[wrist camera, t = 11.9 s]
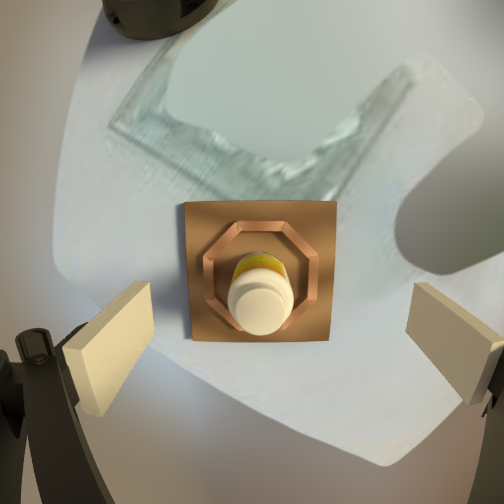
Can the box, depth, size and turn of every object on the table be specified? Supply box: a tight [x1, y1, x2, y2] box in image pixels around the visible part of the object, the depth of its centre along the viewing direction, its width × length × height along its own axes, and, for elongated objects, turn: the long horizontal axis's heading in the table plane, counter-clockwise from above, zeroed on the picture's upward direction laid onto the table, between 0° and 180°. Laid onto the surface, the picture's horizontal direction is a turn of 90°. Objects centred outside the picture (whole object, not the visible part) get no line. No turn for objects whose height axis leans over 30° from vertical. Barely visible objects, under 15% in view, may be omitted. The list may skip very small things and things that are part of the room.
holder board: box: [184, 201, 337, 342], centre depth 33 cm, size 16×16×2 cm
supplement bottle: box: [228, 251, 294, 335], centre depth 28 cm, size 6×6×10 cm
